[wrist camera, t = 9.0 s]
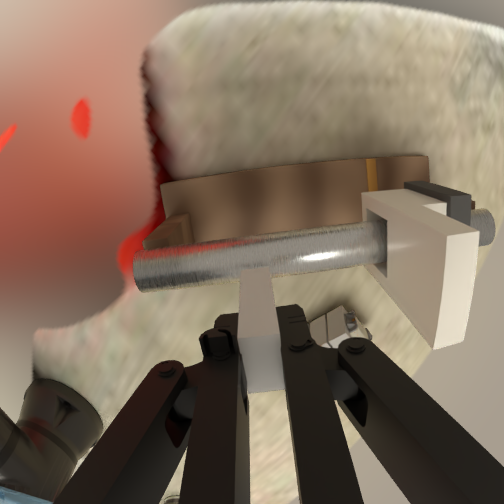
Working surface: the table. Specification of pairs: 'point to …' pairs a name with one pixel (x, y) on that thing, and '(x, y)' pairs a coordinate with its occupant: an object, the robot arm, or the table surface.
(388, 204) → the white u-shaped bracket
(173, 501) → the coffee can
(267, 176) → the pipe stand
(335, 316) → the electrical component
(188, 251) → the steel pipe
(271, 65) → the table surface
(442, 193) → the dark gray nut plate
